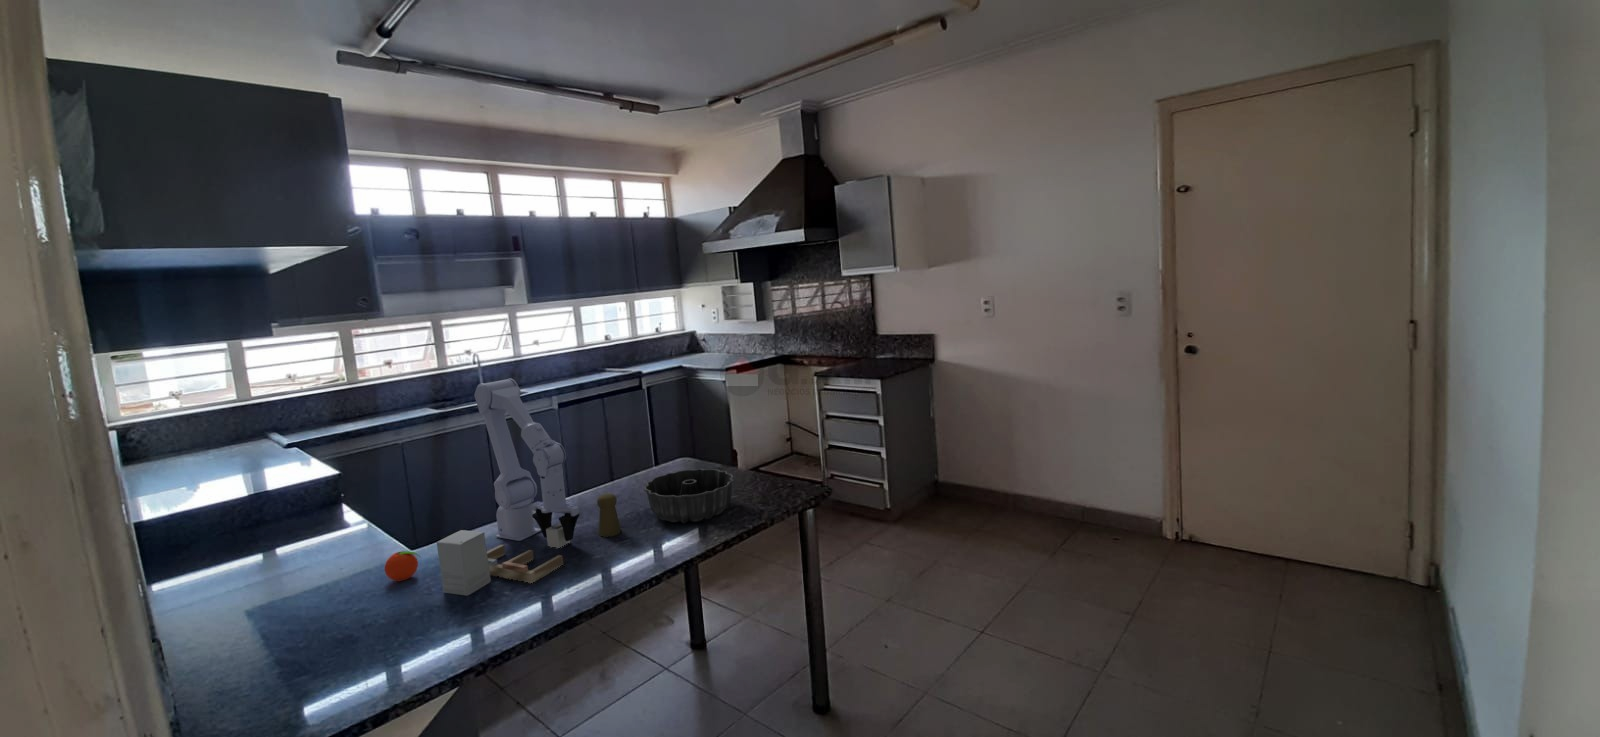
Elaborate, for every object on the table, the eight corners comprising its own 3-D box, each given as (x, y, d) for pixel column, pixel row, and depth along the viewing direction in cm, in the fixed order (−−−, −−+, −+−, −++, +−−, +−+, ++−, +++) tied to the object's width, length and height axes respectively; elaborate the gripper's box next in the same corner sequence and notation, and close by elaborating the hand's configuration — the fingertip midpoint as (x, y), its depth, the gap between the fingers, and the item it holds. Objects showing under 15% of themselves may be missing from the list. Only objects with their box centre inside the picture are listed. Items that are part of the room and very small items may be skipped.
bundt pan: (643, 505, 201) (640, 474, 200) (726, 492, 209) (724, 463, 208) (650, 536, 177) (647, 501, 175) (744, 521, 184) (742, 487, 183)
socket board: (468, 570, 160) (466, 556, 160) (502, 553, 170) (500, 540, 169) (531, 583, 152) (529, 568, 151) (563, 565, 161) (561, 551, 161)
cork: (617, 536, 177) (613, 498, 176) (595, 537, 178) (591, 499, 176) (623, 527, 183) (620, 490, 182) (602, 528, 184) (599, 491, 182)
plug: (547, 546, 173) (545, 527, 172) (558, 540, 176) (556, 521, 176) (559, 548, 171) (557, 528, 170) (570, 542, 175) (568, 523, 174)
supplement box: (492, 581, 154) (485, 531, 152) (467, 596, 147) (460, 544, 145) (468, 578, 156) (461, 528, 154) (442, 593, 149) (435, 541, 148)
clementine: (427, 570, 162) (423, 543, 161) (420, 582, 155) (416, 554, 154) (391, 576, 160) (387, 548, 159) (382, 588, 153) (378, 560, 152)
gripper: (521, 492, 171) (526, 540, 173) (562, 497, 165) (568, 547, 167) (541, 483, 177) (546, 530, 179) (582, 488, 171) (587, 536, 173)
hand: (558, 538), depth 174 cm, fingers open, 7 cm apart
